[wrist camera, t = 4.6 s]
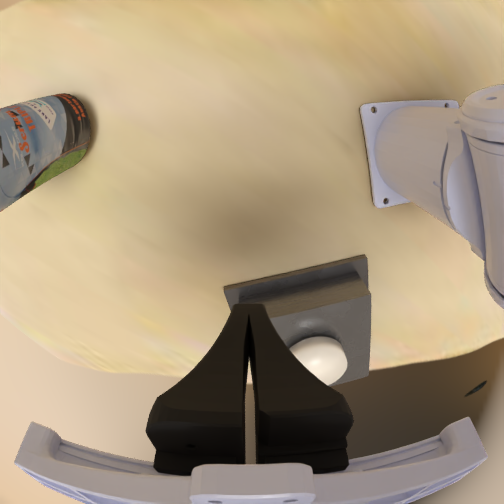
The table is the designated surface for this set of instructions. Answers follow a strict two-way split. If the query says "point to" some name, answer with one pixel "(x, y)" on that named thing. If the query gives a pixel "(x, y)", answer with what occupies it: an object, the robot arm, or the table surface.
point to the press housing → (318, 307)
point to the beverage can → (39, 143)
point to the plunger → (321, 357)
